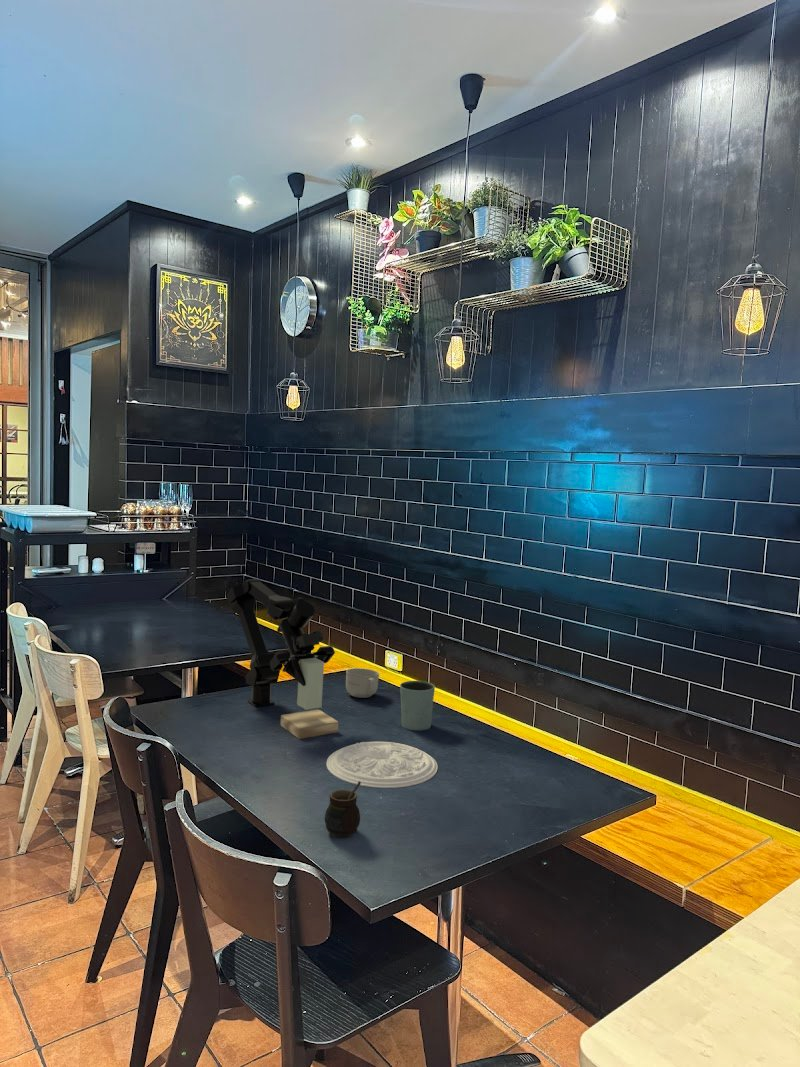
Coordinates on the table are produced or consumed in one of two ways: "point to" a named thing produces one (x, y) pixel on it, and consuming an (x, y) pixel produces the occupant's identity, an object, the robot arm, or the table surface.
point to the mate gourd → (342, 813)
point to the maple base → (309, 723)
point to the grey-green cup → (416, 704)
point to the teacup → (361, 682)
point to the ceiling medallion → (382, 765)
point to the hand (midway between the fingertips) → (313, 683)
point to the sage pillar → (311, 683)
